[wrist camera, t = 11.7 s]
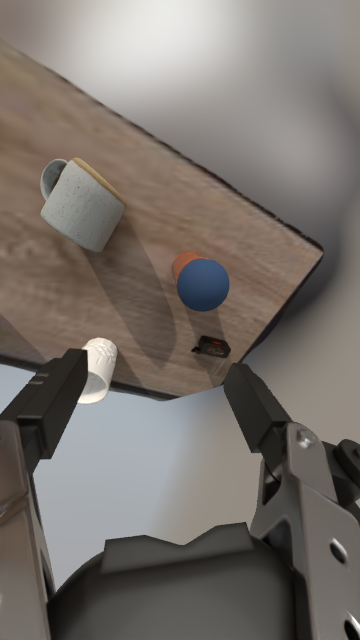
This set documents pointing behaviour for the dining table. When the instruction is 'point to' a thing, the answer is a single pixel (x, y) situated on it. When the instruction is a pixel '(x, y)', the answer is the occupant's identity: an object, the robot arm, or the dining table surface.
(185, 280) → the ball
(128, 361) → the dining table surface
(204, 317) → the dining table surface
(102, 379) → the white cup
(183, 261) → the cup
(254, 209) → the dining table surface
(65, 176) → the ceramic mug
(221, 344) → the wireless earbuds
